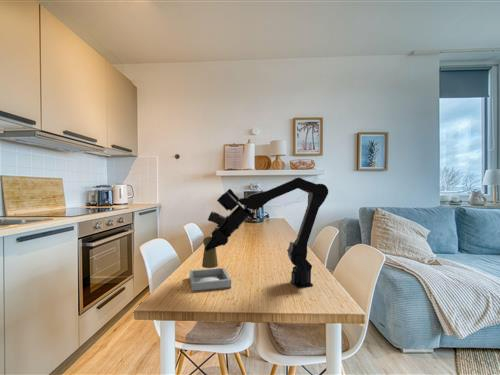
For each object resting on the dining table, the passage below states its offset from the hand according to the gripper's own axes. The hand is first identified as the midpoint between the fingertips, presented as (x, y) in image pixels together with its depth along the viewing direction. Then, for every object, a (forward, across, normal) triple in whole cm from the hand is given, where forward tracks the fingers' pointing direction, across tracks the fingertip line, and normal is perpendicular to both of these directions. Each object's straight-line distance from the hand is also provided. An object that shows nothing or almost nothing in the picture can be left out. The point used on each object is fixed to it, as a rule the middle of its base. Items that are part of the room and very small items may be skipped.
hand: (206, 248), depth 94 cm
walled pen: (+9, 0, +10) cm, 13 cm away
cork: (+4, 0, +6) cm, 7 cm away
